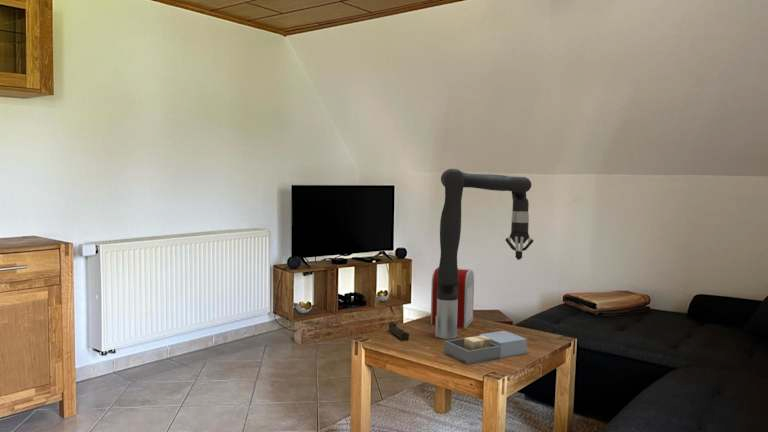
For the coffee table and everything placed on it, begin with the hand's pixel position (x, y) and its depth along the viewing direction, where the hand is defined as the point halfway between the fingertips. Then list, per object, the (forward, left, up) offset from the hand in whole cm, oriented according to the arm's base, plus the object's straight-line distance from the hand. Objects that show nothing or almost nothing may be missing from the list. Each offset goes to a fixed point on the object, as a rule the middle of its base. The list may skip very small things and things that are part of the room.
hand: (518, 259), depth 272 cm
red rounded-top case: (-32, +14, -35) cm, 50 cm away
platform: (-4, -26, -35) cm, 44 cm away
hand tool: (-52, -18, -36) cm, 65 cm away
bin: (-15, -37, -35) cm, 53 cm away
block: (-10, -33, -31) cm, 46 cm away
